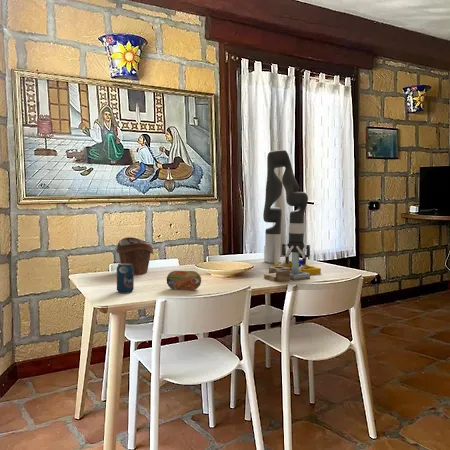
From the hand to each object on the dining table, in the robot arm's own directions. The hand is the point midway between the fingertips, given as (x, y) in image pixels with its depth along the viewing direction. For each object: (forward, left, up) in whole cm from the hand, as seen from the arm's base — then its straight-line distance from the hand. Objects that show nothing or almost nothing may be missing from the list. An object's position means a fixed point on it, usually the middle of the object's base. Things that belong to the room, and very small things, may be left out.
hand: (295, 264), depth 228 cm
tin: (-1, -61, -7) cm, 61 cm away
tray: (0, 0, -6) cm, 6 cm away
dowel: (0, 0, -6) cm, 6 cm away
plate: (-2, -11, -7) cm, 13 cm away
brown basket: (-49, -66, -7) cm, 82 cm away
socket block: (-13, 0, -6) cm, 15 cm away
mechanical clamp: (-13, +15, -7) cm, 21 cm away
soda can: (-8, -85, -7) cm, 86 cm away
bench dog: (+4, -11, -6) cm, 13 cm away
